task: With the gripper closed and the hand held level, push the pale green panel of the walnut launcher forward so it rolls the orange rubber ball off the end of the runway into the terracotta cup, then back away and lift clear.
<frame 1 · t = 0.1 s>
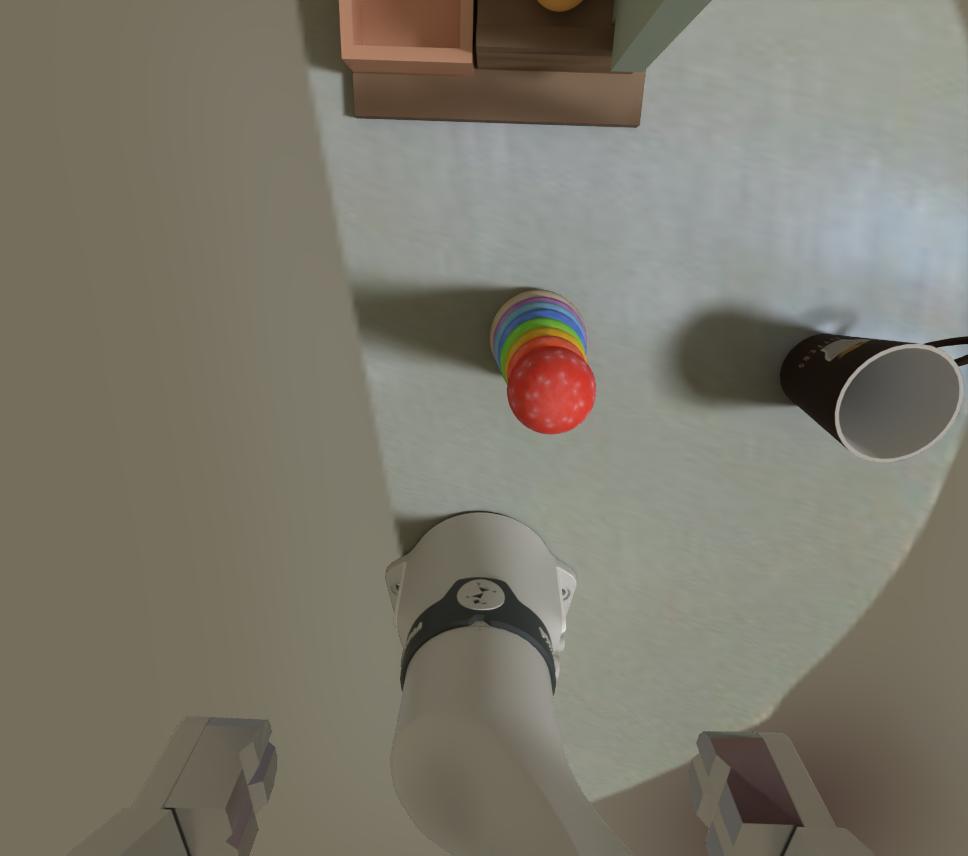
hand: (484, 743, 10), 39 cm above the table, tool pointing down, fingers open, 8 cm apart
terracotta cup: (414, 8, 39), resting on walnut launcher
stacking toy: (536, 335, 47), on the table
walnut launcher: (500, 11, 39), on the table
coffee mug: (834, 369, 48), on the table
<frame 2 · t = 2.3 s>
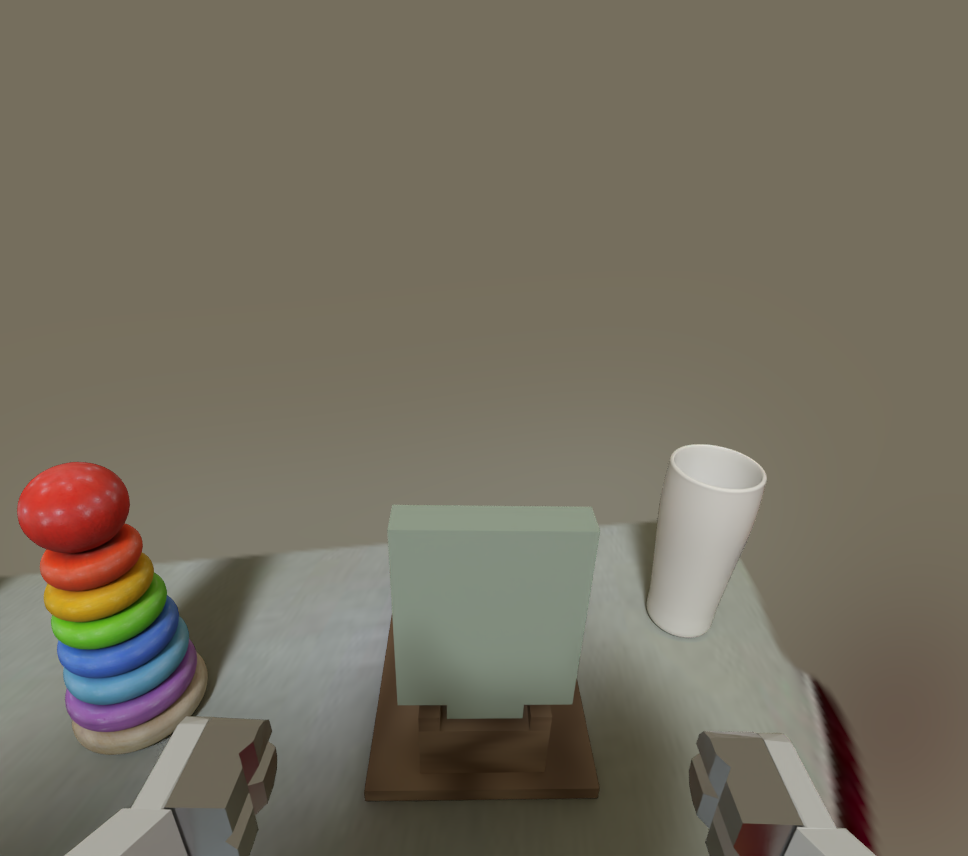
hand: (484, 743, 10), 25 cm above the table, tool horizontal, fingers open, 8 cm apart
pale green panel: (488, 620, 30), point 12 cm above the table, slide at 0.0 cm
stacking toy: (147, 706, 38), on the table
walnut launcher: (478, 655, 42), on the table
drinking glass: (677, 618, 47), on the table
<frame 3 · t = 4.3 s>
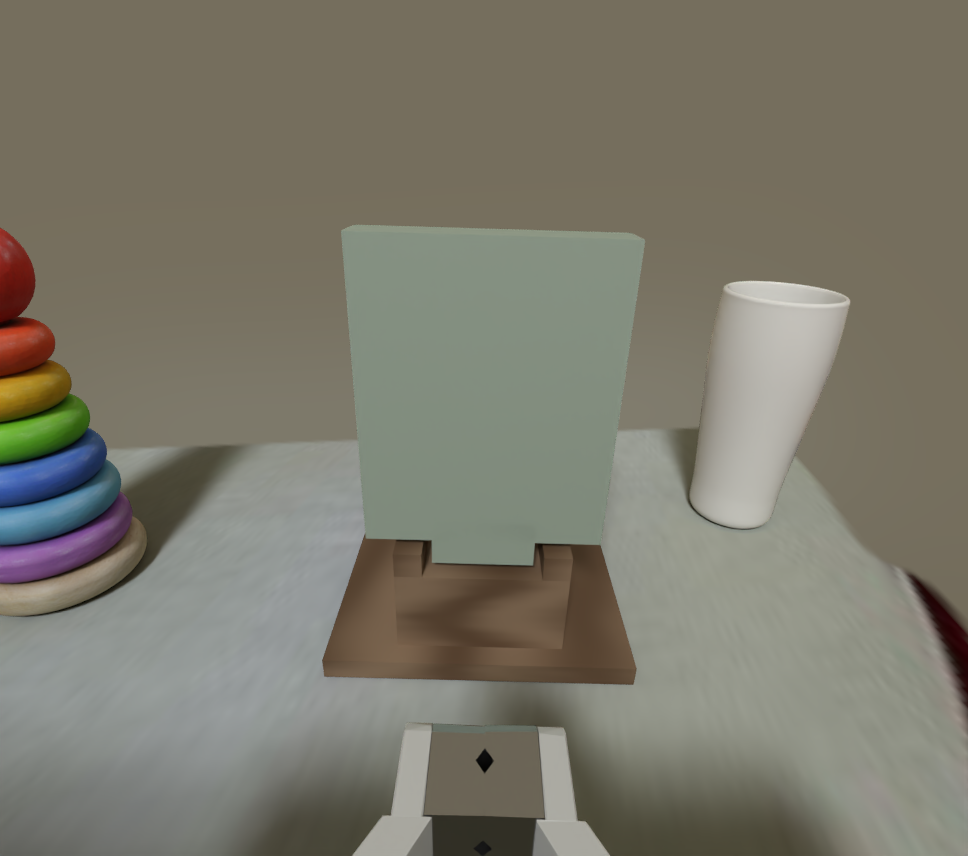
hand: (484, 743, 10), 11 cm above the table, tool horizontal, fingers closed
pale green panel: (487, 412, 22), point 12 cm above the table, slide at 0.0 cm
stacking toy: (70, 574, 31), on the table
walnut launcher: (481, 538, 34), on the table
drinking glass: (727, 512, 38), on the table
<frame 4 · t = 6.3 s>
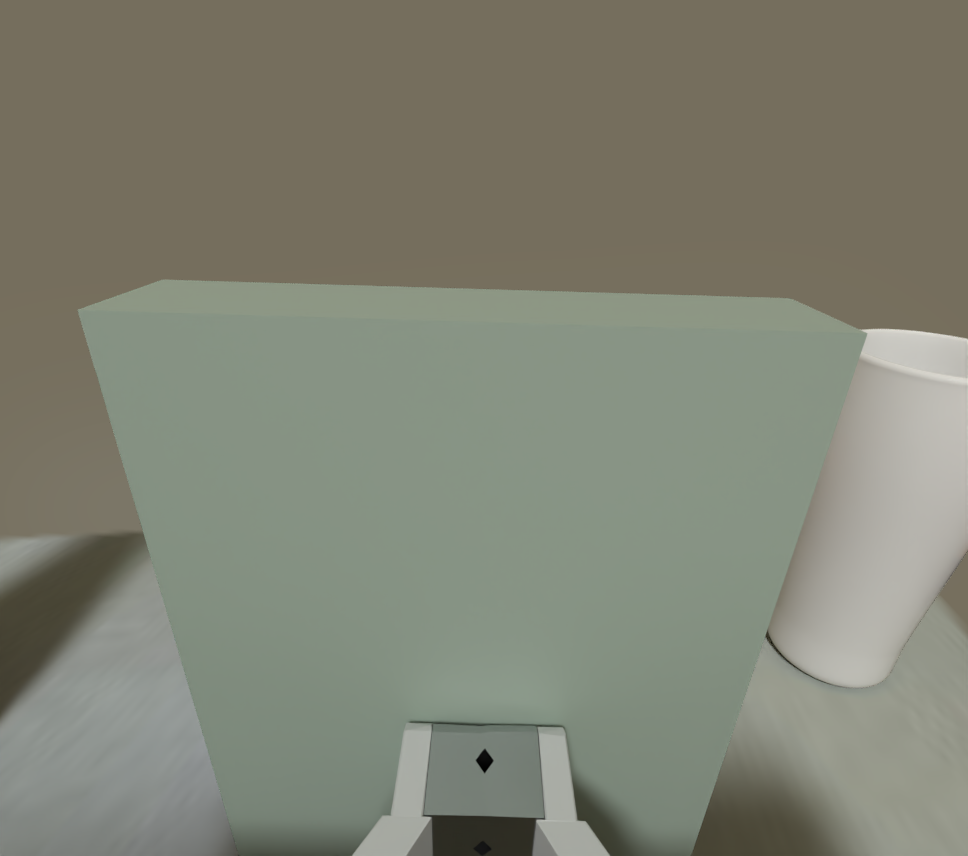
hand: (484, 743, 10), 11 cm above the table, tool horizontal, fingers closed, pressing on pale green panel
pale green panel: (468, 649, 11), point 12 cm above the table, slide at 0.2 cm, touching gripper
drinking glass: (821, 650, 27), on the table
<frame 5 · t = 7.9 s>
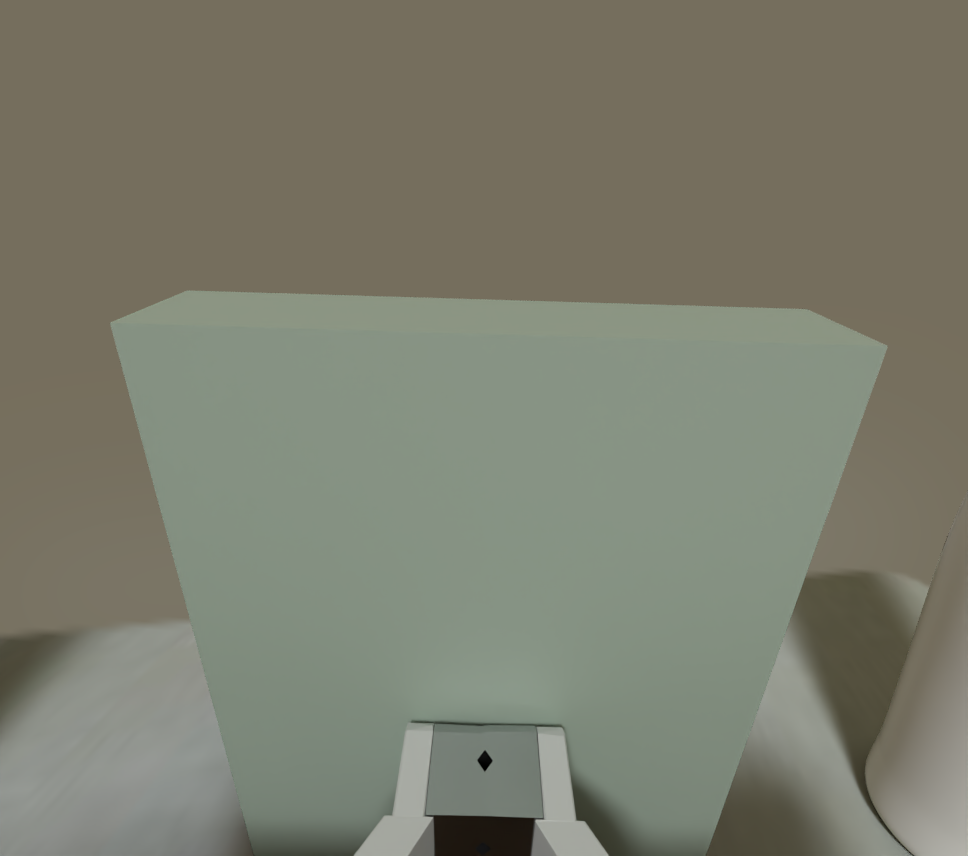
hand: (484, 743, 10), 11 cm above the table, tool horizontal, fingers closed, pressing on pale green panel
pale green panel: (485, 654, 11), point 12 cm above the table, slide at 7.9 cm, touching gripper
drinking glass: (943, 823, 20), on the table
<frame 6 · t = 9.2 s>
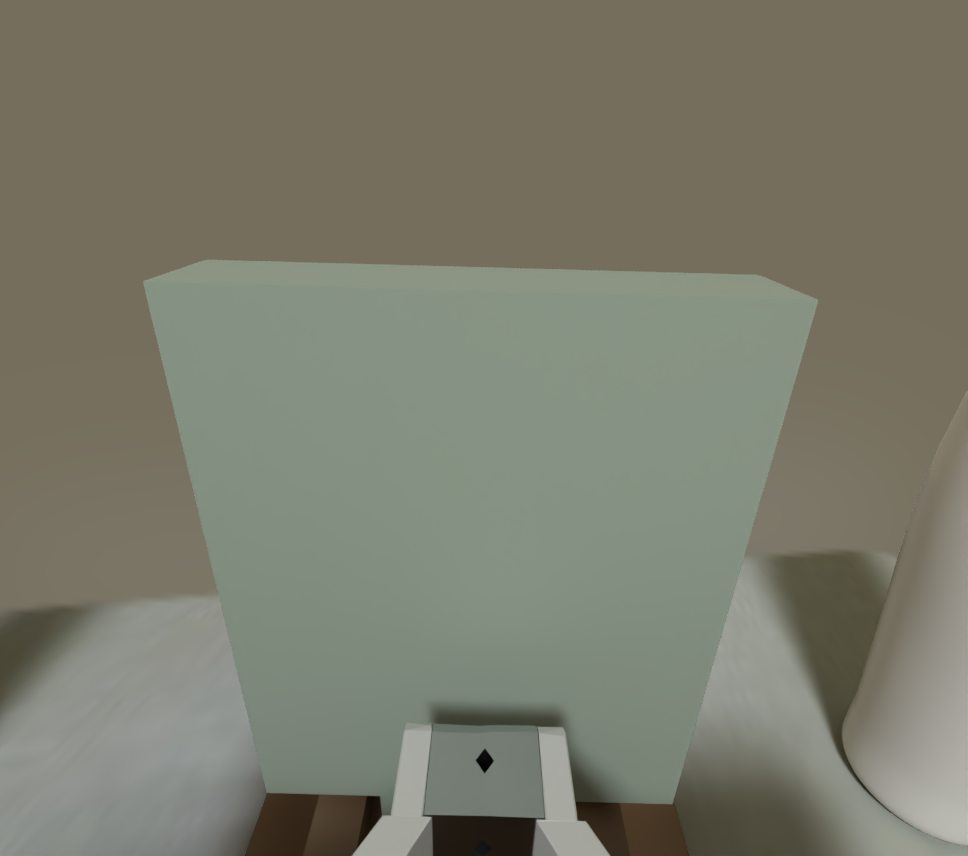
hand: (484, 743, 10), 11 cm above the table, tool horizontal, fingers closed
pale green panel: (474, 595, 12), point 12 cm above the table, slide at 7.9 cm
drinking glass: (914, 779, 21), on the table
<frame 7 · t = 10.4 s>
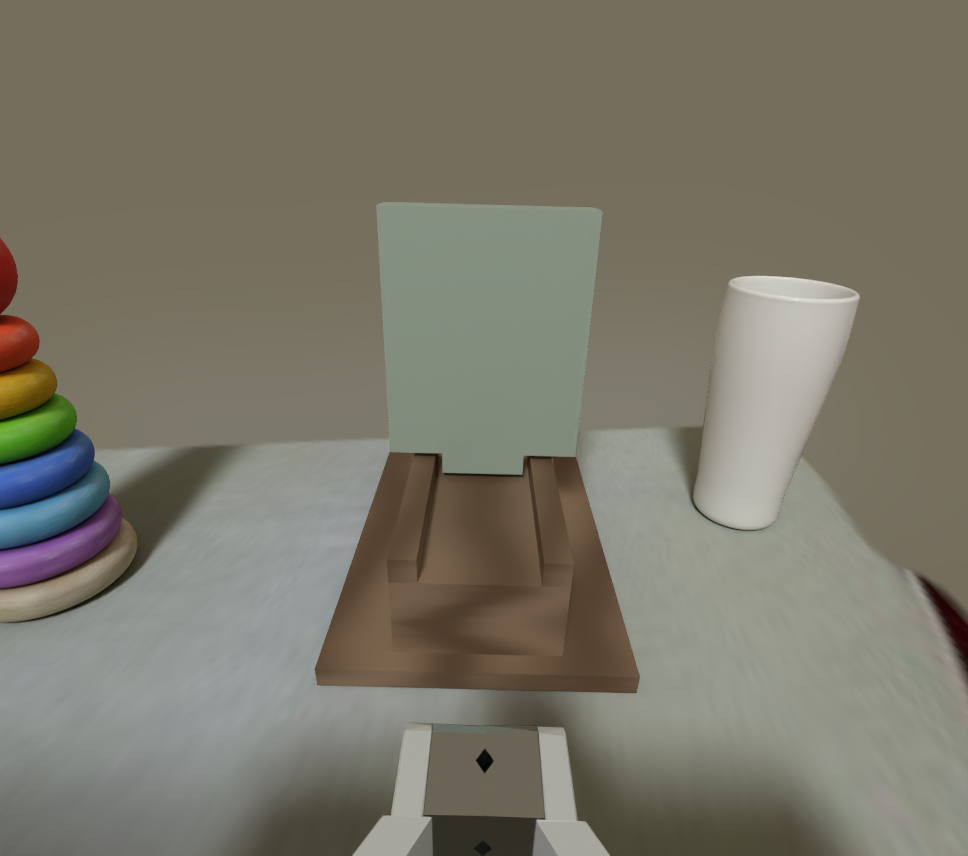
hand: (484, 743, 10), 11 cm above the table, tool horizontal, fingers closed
pale green panel: (485, 349, 28), point 12 cm above the table, slide at 7.9 cm
stacking toy: (58, 578, 30), on the table
walnut launcher: (480, 540, 34), on the table
drinking glass: (731, 513, 37), on the table
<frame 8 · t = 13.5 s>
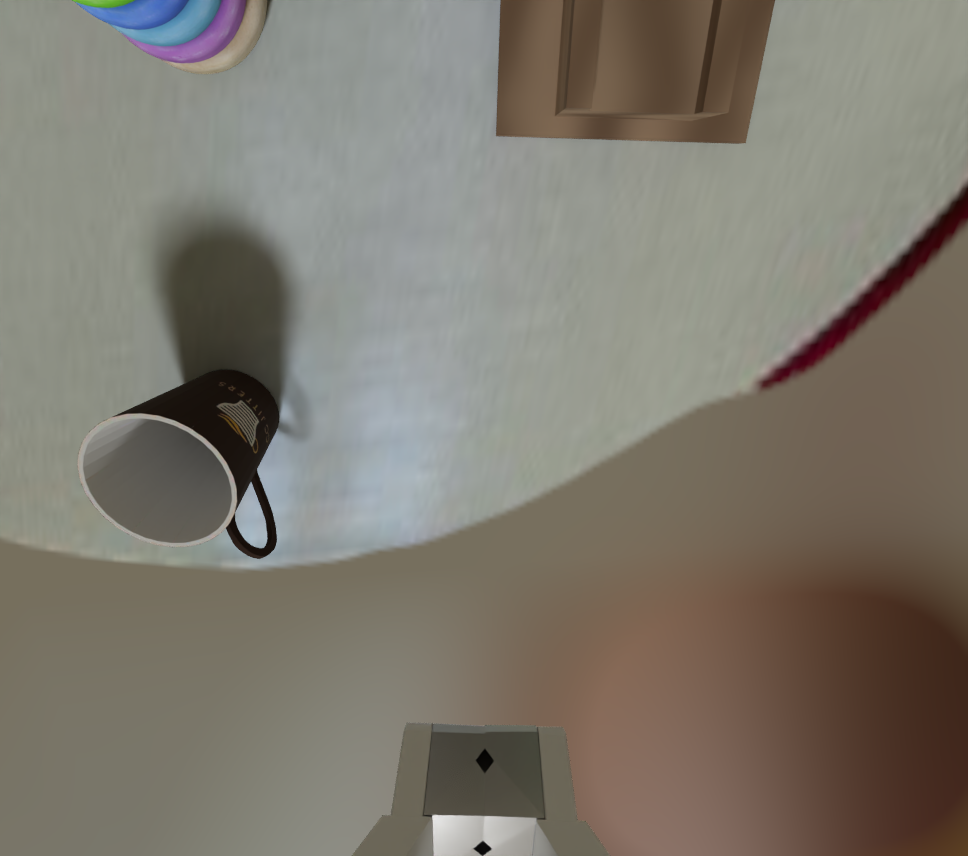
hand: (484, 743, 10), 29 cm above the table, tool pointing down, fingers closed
coffee mug: (241, 429, 40), on the table
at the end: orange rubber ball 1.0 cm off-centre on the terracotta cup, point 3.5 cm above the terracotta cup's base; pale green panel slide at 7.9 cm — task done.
